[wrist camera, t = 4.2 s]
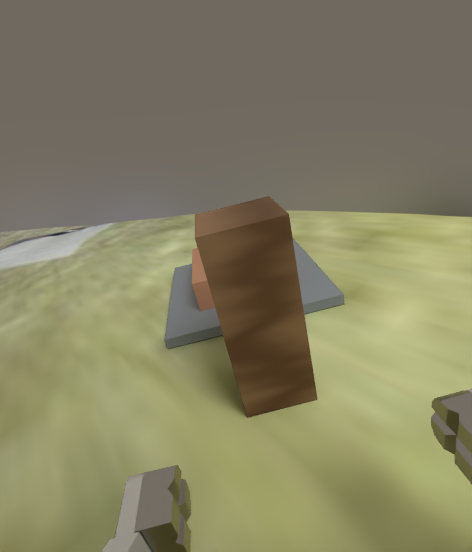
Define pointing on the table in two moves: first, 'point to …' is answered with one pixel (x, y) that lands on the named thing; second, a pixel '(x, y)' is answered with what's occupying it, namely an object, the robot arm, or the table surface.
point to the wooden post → (258, 302)
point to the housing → (201, 310)
